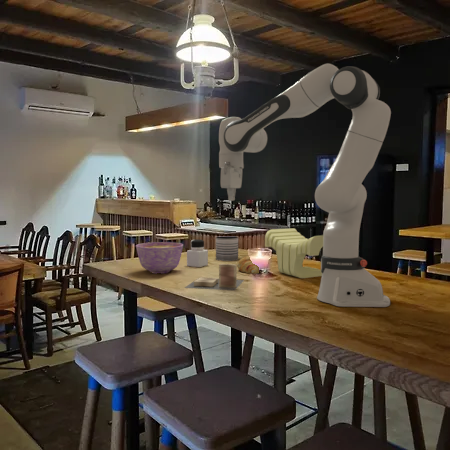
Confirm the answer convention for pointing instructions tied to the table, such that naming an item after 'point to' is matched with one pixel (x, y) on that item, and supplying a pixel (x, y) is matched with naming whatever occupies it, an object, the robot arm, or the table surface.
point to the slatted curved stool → (294, 251)
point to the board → (215, 286)
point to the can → (227, 248)
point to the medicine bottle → (197, 254)
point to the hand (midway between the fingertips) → (231, 200)
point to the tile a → (206, 282)
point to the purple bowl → (159, 256)
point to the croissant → (247, 266)
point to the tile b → (227, 275)
